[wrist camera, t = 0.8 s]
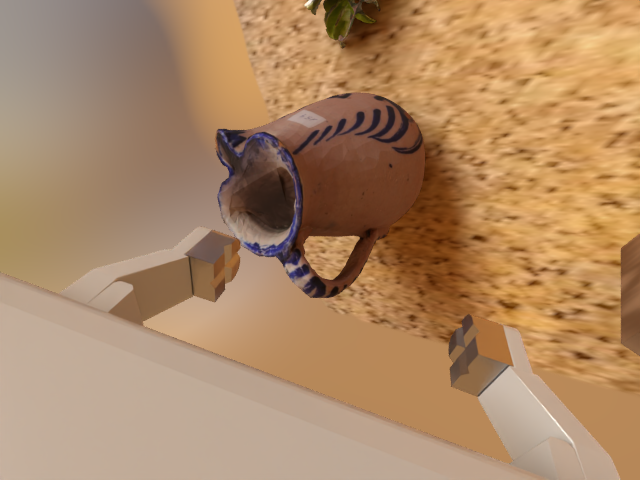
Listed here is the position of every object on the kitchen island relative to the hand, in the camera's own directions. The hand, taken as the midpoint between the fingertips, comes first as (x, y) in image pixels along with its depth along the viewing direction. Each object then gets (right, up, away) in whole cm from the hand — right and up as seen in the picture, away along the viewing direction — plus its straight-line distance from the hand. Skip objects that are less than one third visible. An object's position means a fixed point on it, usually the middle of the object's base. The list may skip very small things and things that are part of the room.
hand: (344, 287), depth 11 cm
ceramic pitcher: (+10, +12, +34) cm, 38 cm away
